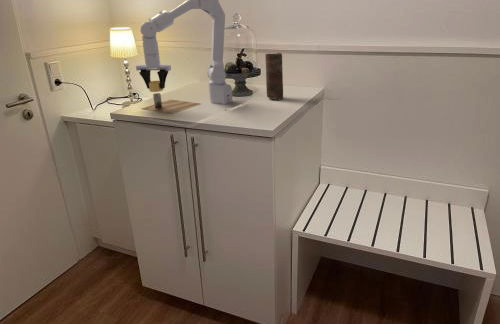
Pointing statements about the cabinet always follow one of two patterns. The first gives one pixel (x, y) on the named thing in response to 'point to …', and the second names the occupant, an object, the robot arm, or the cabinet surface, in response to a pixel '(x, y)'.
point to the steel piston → (157, 100)
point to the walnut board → (172, 106)
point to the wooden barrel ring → (154, 86)
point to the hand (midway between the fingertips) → (156, 88)
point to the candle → (274, 76)
